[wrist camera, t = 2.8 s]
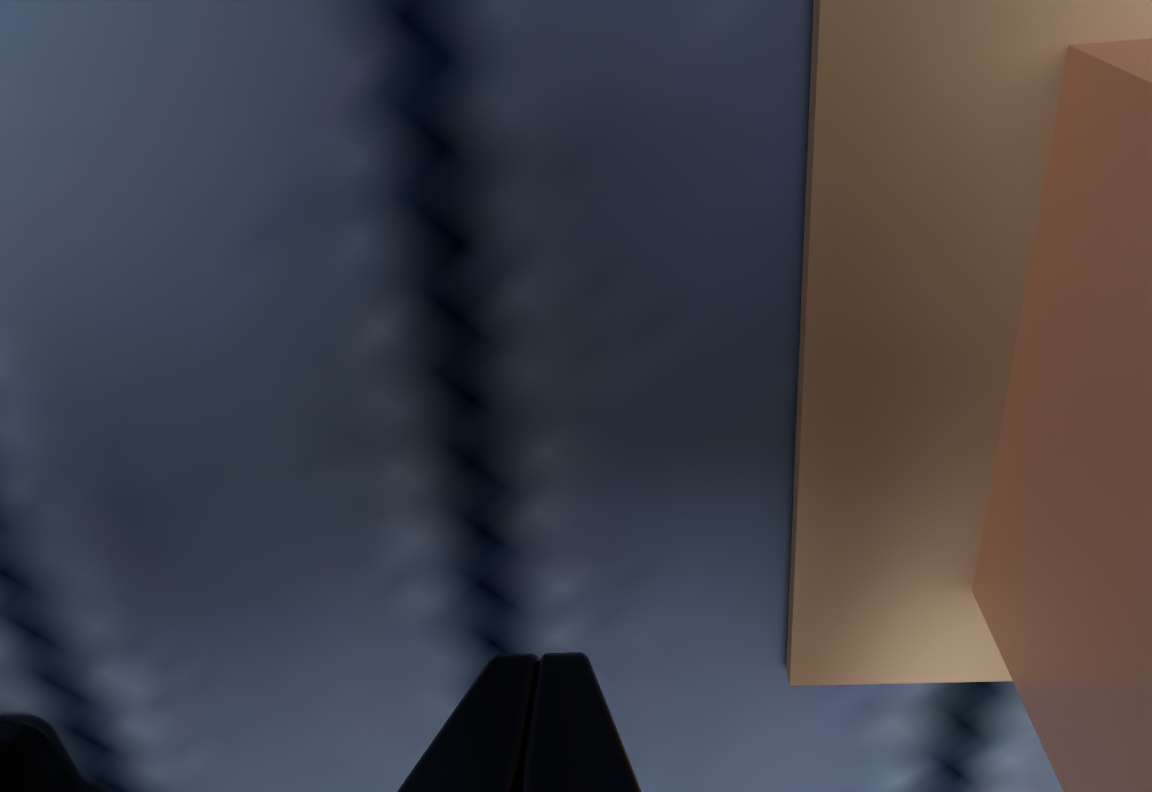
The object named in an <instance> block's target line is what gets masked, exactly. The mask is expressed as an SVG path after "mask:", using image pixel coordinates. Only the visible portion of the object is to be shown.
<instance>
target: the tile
mask: <svg viewBox="0 0 1152 792" xmlns="http://www.w3.org/2000/svg"><path fill="white" fill-rule="evenodd" d="M972 593H973V595H974V597H975V599H976V602H977V604H978V606H979V608H980V610H981V612H982V615H983V617H984V619H985V621H986V623H987V626H988V628H989V630H990V632H991V634H992V636H993V639H994V641H995V643H996V645H997V647H998V650H999V652H1000V654H1001V656H1002V658H1003V660H1004V663H1005V665H1006V667H1007V669H1008V671H1009V674H1010V676H1011V678H1012V680H1013V682H1014V684H1015V687H1016V689H1017V691H1018V693H1019V695H1020V698H1021V700H1022V702H1023V704H1024V706H1025V708H1026V711H1027V713H1028V715H1029V717H1030V719H1031V722H1032V724H1033V726H1034V728H1035V730H1036V732H1037V735H1038V737H1039V739H1040V741H1041V743H1042V746H1043V748H1044V750H1045V752H1046V754H1047V756H1048V759H1049V761H1050V763H1051V765H1052V767H1053V770H1054V772H1055V774H1056V776H1057V778H1058V780H1059V783H1060V785H1061V787H1062V789H1063V791H1064V792H1152V38H1151V39H1139V40H1126V41H1114V42H1101V43H1089V44H1076V45H1069V48H1068V54H1067V59H1066V65H1065V71H1064V76H1063V82H1062V87H1061V93H1060V99H1059V104H1058V110H1057V116H1056V121H1055V127H1054V133H1053V138H1052V144H1051V149H1050V155H1049V161H1048V166H1047V172H1046V178H1045V183H1044V189H1043V195H1042V200H1041V206H1040V211H1039V217H1038V223H1037V228H1036V234H1035V240H1034V245H1033V251H1032V257H1031V262H1030V268H1029V273H1028V279H1027V285H1026V290H1025V296H1024V302H1023V307H1022V313H1021V319H1020V324H1019V330H1018V335H1017V341H1016V347H1015V352H1014V358H1013V364H1012V369H1011V375H1010V381H1009V386H1008V392H1007V397H1006V403H1005V409H1004V414H1003V420H1002V426H1001V431H1000V437H999V443H998V448H997V454H996V459H995V465H994V471H993V476H992V482H991V488H990V493H989V499H988V505H987V510H986V516H985V522H984V527H983V533H982V538H981V544H980V550H979V555H978V561H977V567H976V572H975V578H974V584H973V589H972Z"/></svg>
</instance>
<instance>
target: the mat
mask: <svg viewBox="0 0 1152 792" xmlns="http://www.w3.org/2000/svg"><path fill="white" fill-rule="evenodd" d="M1151 38H1152V0H814V4H813V28H812V53H811V77H810V101H809V125H808V150H807V174H806V198H805V223H804V247H803V271H802V296H801V320H800V344H799V368H798V393H797V417H796V441H795V466H794V490H793V514H792V539H791V563H790V587H789V611H788V636H787V660H786V669H787V675H788V680H789V685H790V686H813V685H858V684H903V683H948V682H993V681H1013V680H1012V678H1011V676H1010V674H1009V671H1008V669H1007V667H1006V665H1005V663H1004V660H1003V658H1002V656H1001V654H1000V652H999V650H998V647H997V645H996V643H995V641H994V639H993V636H992V634H991V632H990V630H989V628H988V626H987V623H986V621H985V619H984V617H983V615H982V612H981V610H980V608H979V606H978V604H977V602H976V599H975V597H974V595H973V593H972V589H973V584H974V578H975V572H976V567H977V561H978V555H979V550H980V544H981V538H982V533H983V527H984V522H985V516H986V510H987V505H988V499H989V493H990V488H991V482H992V476H993V471H994V465H995V459H996V454H997V448H998V443H999V437H1000V431H1001V426H1002V420H1003V414H1004V409H1005V403H1006V397H1007V392H1008V386H1009V381H1010V375H1011V369H1012V364H1013V358H1014V352H1015V347H1016V341H1017V335H1018V330H1019V324H1020V319H1021V313H1022V307H1023V302H1024V296H1025V290H1026V285H1027V279H1028V273H1029V268H1030V262H1031V257H1032V251H1033V245H1034V240H1035V234H1036V228H1037V223H1038V217H1039V211H1040V206H1041V200H1042V195H1043V189H1044V183H1045V178H1046V172H1047V166H1048V161H1049V155H1050V149H1051V144H1052V138H1053V133H1054V127H1055V121H1056V116H1057V110H1058V104H1059V99H1060V93H1061V87H1062V82H1063V76H1064V71H1065V65H1066V59H1067V54H1068V48H1069V45H1076V44H1089V43H1101V42H1114V41H1126V40H1139V39H1151Z"/></svg>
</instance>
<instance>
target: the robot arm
mask: <svg viewBox="0 0 1152 792" xmlns="http://www.w3.org/2000/svg"><path fill="white" fill-rule="evenodd" d="M0 792H78V790H77V788H76V786H75V785H74V783H73V781H72V779H71V778H70V776H69V774H68V773H67V771H66V769H65V767H64V766H63V764H62V762H61V760H60V759H59V757H58V755H57V753H56V752H55V750H54V748H53V746H52V745H51V743H50V741H49V740H48V738H47V737H46V736H45V735H44V734H43V733H42V732H40V731H39V730H37V729H36V728H34V727H31V726H28V725H26V724H21V723H0ZM398 792H641V789H640V787H639V784H638V782H637V779H636V777H635V774H634V772H633V769H632V767H631V764H630V762H629V759H628V757H627V754H626V752H625V749H624V746H623V744H622V741H621V739H620V736H619V734H618V731H617V729H616V726H615V724H614V721H613V719H612V716H611V714H610V711H609V709H608V706H607V704H606V701H605V698H604V696H603V693H602V691H601V688H600V686H599V683H598V681H597V678H596V676H595V673H594V671H593V668H592V666H591V663H590V661H589V659H588V657H587V656H586V655H585V654H584V653H580V652H572V653H547V654H544V655H543V656H542V657H541V659H539V658H538V656H536V655H534V654H500V655H496V656H494V657H493V658H491V659H490V660H489V662H488V663H487V664H486V666H485V667H484V669H483V670H482V671H481V673H480V674H479V676H478V677H477V679H476V680H475V681H474V683H473V684H472V686H471V687H470V689H469V690H468V691H467V693H466V694H465V696H464V697H463V699H462V700H461V701H460V703H459V704H458V706H457V707H456V709H455V710H454V711H453V713H452V714H451V716H450V717H449V719H448V720H447V721H446V723H445V724H444V726H443V727H442V729H441V730H440V731H439V733H438V734H437V736H436V737H435V739H434V740H433V741H432V743H431V744H430V746H429V747H428V749H427V750H426V751H425V753H424V754H423V756H422V757H421V759H420V760H419V761H418V763H417V764H416V766H415V767H414V769H413V770H412V771H411V773H410V774H409V776H408V777H407V779H406V780H405V781H404V783H403V784H402V786H401V787H400V789H399V790H398Z"/></svg>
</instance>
